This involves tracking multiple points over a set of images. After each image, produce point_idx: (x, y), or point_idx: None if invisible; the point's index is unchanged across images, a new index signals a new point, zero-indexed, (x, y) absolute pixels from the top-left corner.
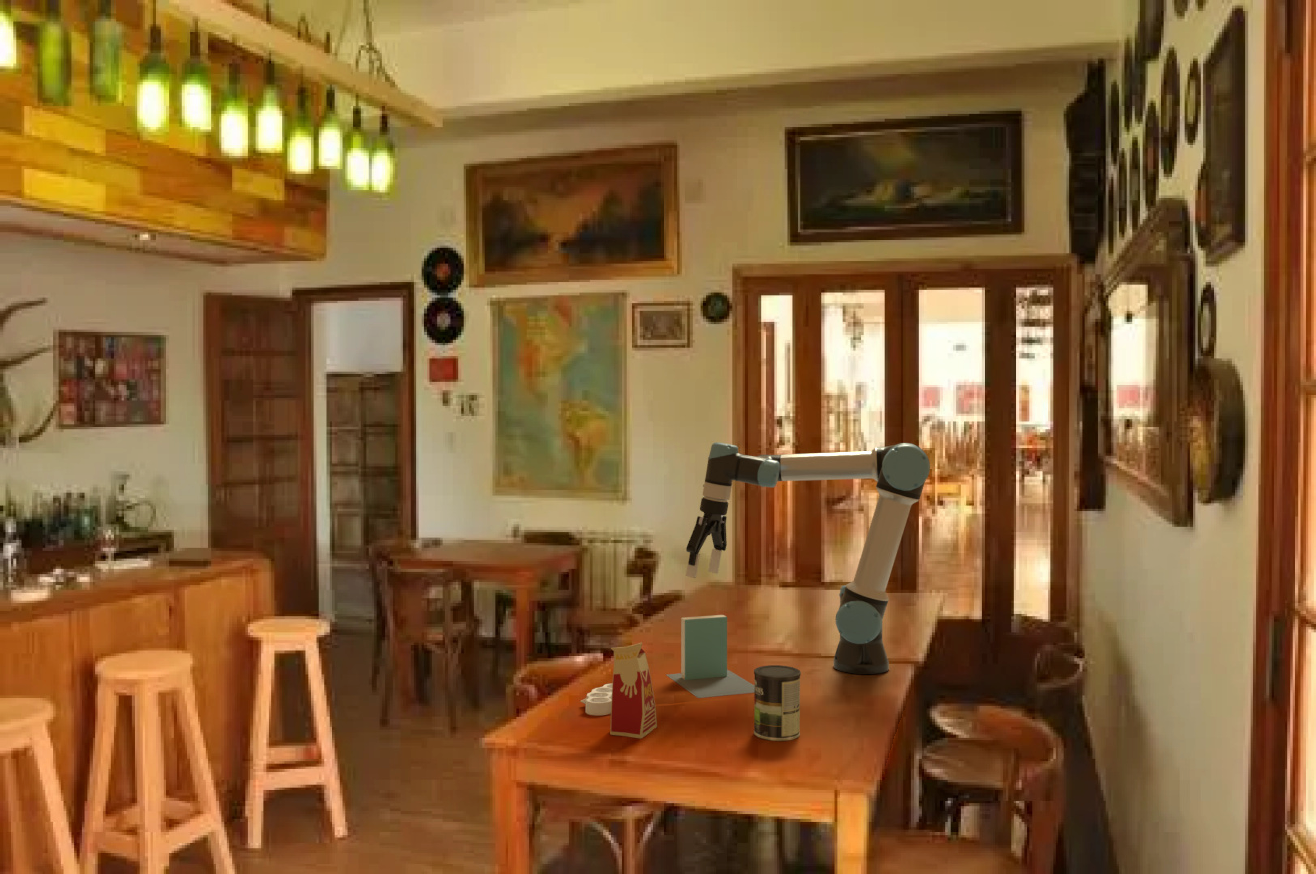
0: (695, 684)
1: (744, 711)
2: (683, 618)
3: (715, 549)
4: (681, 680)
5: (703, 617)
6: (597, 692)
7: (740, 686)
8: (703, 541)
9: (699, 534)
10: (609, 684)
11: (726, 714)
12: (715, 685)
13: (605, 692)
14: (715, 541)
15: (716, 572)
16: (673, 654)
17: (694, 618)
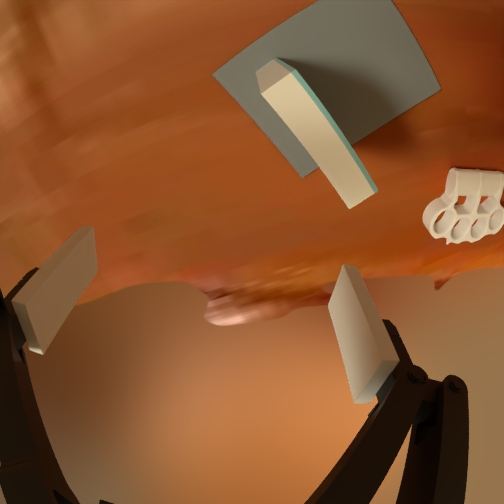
0: (360, 106)
1: (475, 15)
2: (359, 200)
3: (32, 337)
4: None
5: (330, 146)
6: (470, 233)
7: (350, 17)
8: (378, 449)
9: (460, 491)
10: (435, 232)
11: (491, 43)
12: (358, 66)
13: (471, 224)
14: (28, 389)
15: (91, 232)
16: (132, 218)
17: (353, 170)
